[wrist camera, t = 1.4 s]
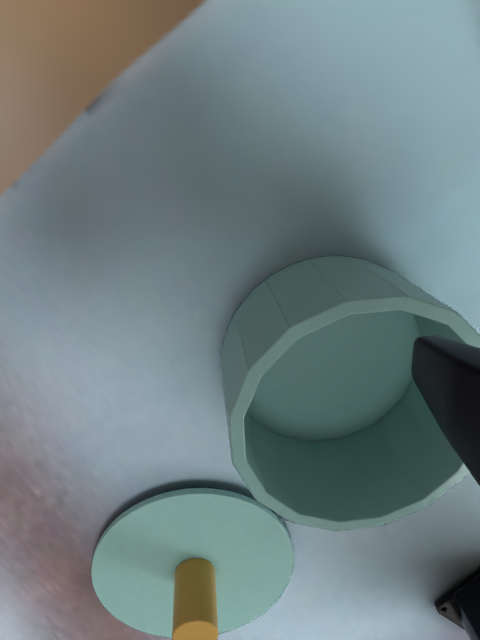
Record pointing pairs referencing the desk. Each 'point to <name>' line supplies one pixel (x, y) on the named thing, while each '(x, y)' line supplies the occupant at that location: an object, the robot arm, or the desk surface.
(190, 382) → the desk surface
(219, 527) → the lid
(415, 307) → the tin
